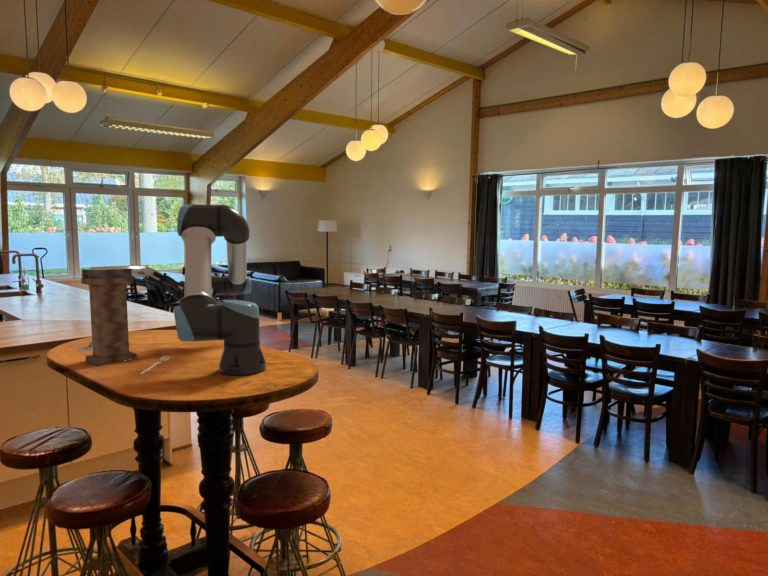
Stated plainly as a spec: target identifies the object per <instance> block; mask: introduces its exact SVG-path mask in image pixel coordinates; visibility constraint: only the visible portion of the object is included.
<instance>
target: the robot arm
mask: <svg viewBox="0 0 768 576" xmlns="http://www.w3.org/2000/svg"><path fill="white" fill-rule="evenodd" d="M176 224H177V225H176V232H177V235H178V236H179V237H181V240H182V241H183V242H184V243H185V256H184V257H185V258H184V259H185V263H184V265H185V266H184V280H180V281H177V280H175V279H174V278H172V277H171V276H169V275H168V273H166V272H163V273H162V272H160V271H158V270H156V269H154V268H152V267H151V268H150V267H148V266H146V267H145V268H144V270H143V273H145V274H147V275H149V276H139V277H140V278H142V282H143V281H144V282H145V281H147V282H150V283H152V284H154V285H156V286H158V287H161V288H163V289H165V290H166V291H169V292H172V294H171V295H172V298H174V299H176V300H178V301H179V302H178V303H179V304H178V305H176V306H173V315H174V322H175V329H176V334H177V338H178V340H179V341H180V342H184V343H186V342H187V343H188V342H191V343H195V342H206V341H207V342H210V341H211V342H212V341H223V351H222V355H221V357H220V360H219V365H218V369H219V371H218V372H219V373H220V374H223V375H227V376H247V375H254V374H258V373H261V372H263V371H265V370H266V369H267V365H266V364H267V363H266V359H265V357H264V353H263V351H262V348H261V334H260V333H261V332H260V331H261V330H260V318H261V317H260V310H259V309H260V308H259V306H258V304H257V303H255V302H253V301H248V300H240V299H224V300H223V301H222V300H220V299H219V298H217V295H218V296H219V295H246V294H250V293H252V278H251V276H247V274H248V271H247V270H248V263H247V262H248V258H247V257H248V255H247V254H248V253H247V252H248V251H247V250H248V245H247V243H248V240H250V228H249V224H248V221H247V220H246V218H245V217H244V215H243V214H242V213H241V212H239V210H237V209H236V208H235V207H233V206H231V205H227V204H195V203H191V204H184V205H181V206H180V207H179V210H178V214H177V223H176ZM218 237H220V238H221V237H223V239H224V240H225V242H226V254H227V255H226V257H227V276H216V275H215V273H213V272H212V244H214V242H216V238H218Z"/></svg>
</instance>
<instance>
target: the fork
mask: <svg viewBox="0 0 768 576" xmlns="http://www.w3.org/2000/svg"><path fill="white" fill-rule="evenodd" d="M169 358H170V355H168V356H167V355H162V356H161V358H160V359H159V360H161V361H162V360H163V361H164V360H165V361H166V360H168V361H169ZM159 363H162V362H158V361H156V362H155V363H154V364H152V365H150V366H149V367H148V368H146V369H145V370H143V371H142V372H140V373H139V375H142V374H144V373H146V372H148V371H150V370H152V369H154V368H155V367H157V366H158V365H157V364H159ZM156 365H157V366H156ZM159 365H160V364H159ZM154 366H155V367H154ZM153 367H154V368H153ZM151 368H152V369H151Z"/></svg>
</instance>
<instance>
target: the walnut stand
mask: <svg viewBox="0 0 768 576" xmlns="http://www.w3.org/2000/svg"><path fill="white" fill-rule="evenodd" d="M80 280H81V281H80V283H81V284H82V285H87V286H88V290H89V305H90V306H89V307H90V327H91V341H92V348H93V351H92V354H89V355H87V354H86V355H85V362H86V363H89V364H91V365H93V366H94V367H96V366H102V365H110V364H115V363H114V362H116V363H120V362H119V361H123V362H125V361H124V360H129V359H135V358H137V359H138V356H137V355H138V354H137V352H136V353H135V352H133V351H130V341H129V339H130V338H129V322H128V321H129V319H128V317H129V316H128V300H127V299H128V298H127V284H133V283H134V276H132V269H109V270H90V268H89V269H87V268H86V269H81V278H80ZM135 360H136V359H135ZM129 361H130V360H129ZM109 363H110V364H109Z"/></svg>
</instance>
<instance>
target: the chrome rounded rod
mask: <svg viewBox="0 0 768 576" xmlns="http://www.w3.org/2000/svg"><path fill="white" fill-rule="evenodd" d="M146 266H148V267H150V268H152V266H151V265H150V264H141V265H140V264H138V265H136V264H130V265H112V266H111V265H109V266H91V267H90V268H89V269H90V270H109V269H132V277H140V276H149V275H147V274H145V273H143V270H144V268H145V267H146Z"/></svg>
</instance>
